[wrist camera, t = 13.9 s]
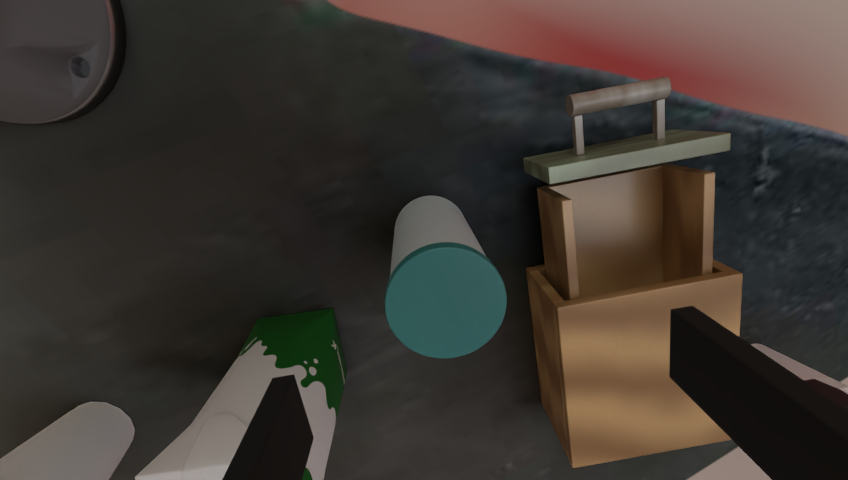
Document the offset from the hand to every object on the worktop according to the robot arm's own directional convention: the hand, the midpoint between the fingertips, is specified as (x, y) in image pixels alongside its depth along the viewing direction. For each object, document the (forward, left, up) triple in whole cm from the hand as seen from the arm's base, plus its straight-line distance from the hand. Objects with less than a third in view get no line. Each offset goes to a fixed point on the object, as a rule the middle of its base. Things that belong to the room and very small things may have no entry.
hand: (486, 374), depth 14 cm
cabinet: (+14, +14, -23) cm, 30 cm away
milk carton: (+10, -15, -23) cm, 29 cm away
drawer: (+1, +14, -22) cm, 26 cm away
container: (+1, -1, -23) cm, 23 cm away
